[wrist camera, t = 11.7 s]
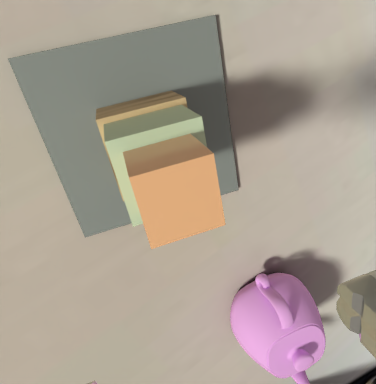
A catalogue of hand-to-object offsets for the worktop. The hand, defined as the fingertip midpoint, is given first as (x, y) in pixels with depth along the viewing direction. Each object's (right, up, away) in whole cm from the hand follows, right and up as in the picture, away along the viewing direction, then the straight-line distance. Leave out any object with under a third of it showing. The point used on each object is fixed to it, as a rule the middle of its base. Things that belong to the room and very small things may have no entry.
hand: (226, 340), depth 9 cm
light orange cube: (-3, +6, +13) cm, 15 cm away
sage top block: (-4, +8, +18) cm, 21 cm away
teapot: (+11, -14, +41) cm, 45 cm away
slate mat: (-6, +11, +24) cm, 27 cm away
